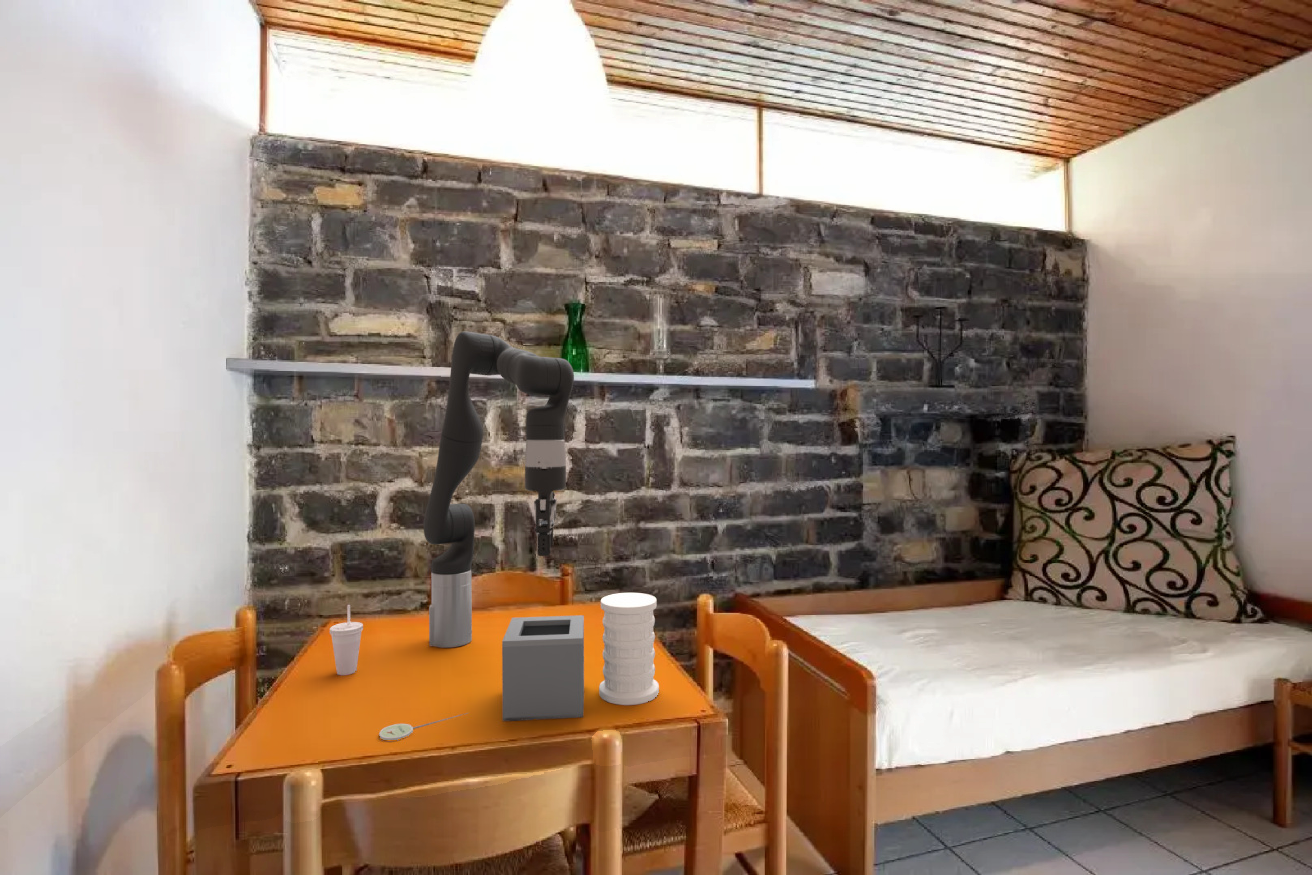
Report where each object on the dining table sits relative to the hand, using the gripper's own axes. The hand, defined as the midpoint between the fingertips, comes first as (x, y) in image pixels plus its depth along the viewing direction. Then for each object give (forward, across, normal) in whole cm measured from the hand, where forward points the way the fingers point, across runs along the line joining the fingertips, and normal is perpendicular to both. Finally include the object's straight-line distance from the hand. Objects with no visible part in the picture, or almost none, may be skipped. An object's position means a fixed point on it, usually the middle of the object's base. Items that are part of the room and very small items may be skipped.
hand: (545, 551), depth 116 cm
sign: (+29, +7, -20) cm, 36 cm away
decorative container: (+28, -3, +16) cm, 33 cm away
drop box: (+28, 0, 0) cm, 28 cm away
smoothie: (+29, -20, -43) cm, 55 cm away
